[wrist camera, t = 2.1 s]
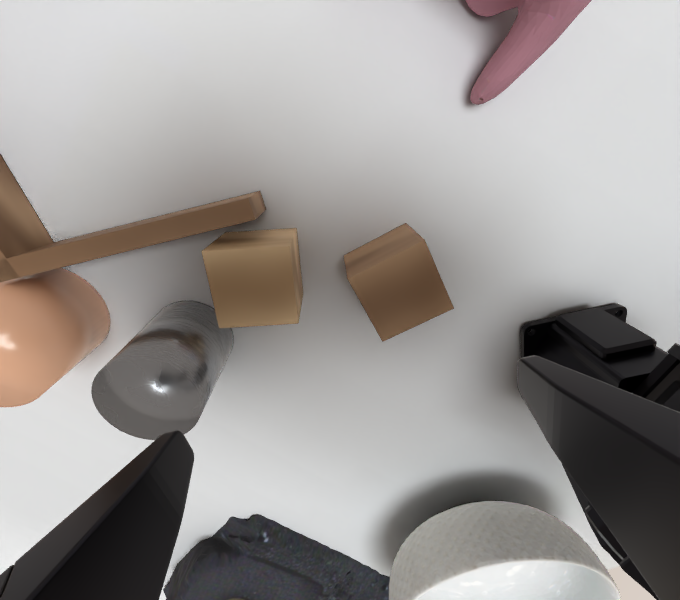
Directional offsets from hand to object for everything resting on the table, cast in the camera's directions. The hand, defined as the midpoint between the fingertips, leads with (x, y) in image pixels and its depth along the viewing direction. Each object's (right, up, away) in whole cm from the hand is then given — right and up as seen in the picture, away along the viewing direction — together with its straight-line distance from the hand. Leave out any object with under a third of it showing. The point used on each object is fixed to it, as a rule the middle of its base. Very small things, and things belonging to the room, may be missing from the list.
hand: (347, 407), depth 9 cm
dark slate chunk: (-5, -26, +25) cm, 37 cm away
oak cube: (-5, +5, +11) cm, 13 cm away
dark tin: (-10, 0, +13) cm, 16 cm away
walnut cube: (+3, +5, +11) cm, 13 cm away
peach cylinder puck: (-17, +2, +12) cm, 21 cm away
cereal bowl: (+12, -18, +22) cm, 31 cm away
